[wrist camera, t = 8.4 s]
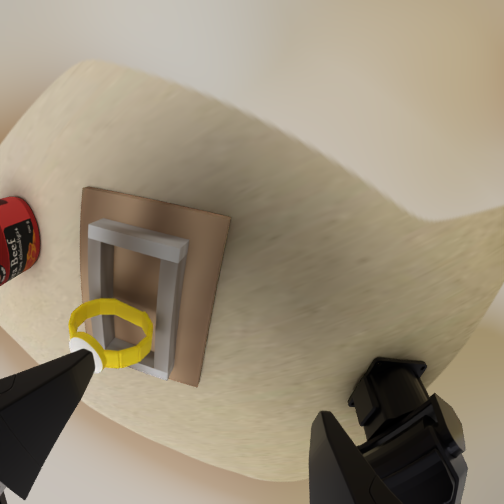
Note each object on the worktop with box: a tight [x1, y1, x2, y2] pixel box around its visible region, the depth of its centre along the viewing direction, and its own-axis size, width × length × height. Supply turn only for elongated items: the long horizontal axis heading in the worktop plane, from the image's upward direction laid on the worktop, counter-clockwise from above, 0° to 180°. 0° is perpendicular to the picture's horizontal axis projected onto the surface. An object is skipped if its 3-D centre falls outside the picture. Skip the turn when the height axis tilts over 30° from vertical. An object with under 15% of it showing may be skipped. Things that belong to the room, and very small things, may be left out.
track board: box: [80, 187, 231, 387], centre depth 20 cm, size 12×16×3 cm
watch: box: [68, 298, 153, 373], centre depth 16 cm, size 6×3×6 cm, turn 75°
